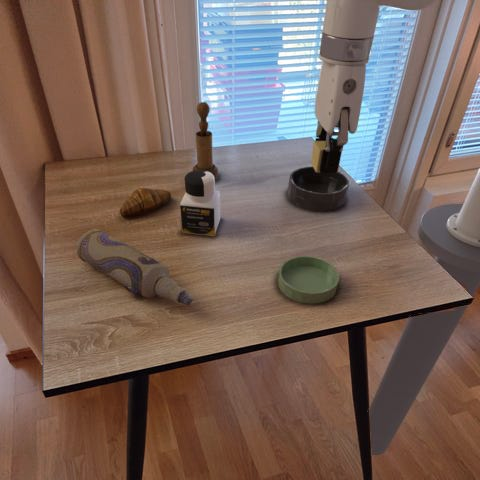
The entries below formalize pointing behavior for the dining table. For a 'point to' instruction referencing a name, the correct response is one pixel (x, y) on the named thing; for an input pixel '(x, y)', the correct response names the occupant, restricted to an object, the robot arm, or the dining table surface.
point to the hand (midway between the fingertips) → (324, 165)
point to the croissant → (144, 201)
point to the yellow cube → (318, 154)
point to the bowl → (317, 189)
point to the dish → (308, 279)
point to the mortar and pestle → (204, 143)
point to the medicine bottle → (200, 204)
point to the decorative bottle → (129, 267)
